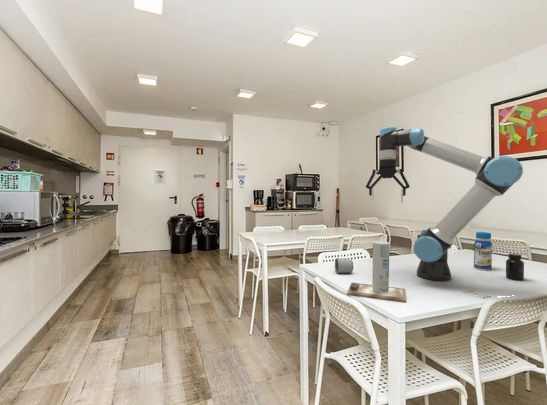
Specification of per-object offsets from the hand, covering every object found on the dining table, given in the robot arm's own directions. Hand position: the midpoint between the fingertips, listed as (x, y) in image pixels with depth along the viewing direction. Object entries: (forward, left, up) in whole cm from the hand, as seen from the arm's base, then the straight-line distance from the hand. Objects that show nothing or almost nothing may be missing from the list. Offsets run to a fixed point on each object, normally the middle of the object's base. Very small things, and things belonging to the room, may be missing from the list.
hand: (386, 202), depth 146 cm
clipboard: (+3, +28, -37) cm, 46 cm away
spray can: (+2, +28, -36) cm, 45 cm away
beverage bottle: (-49, -36, -37) cm, 71 cm away
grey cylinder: (+21, +1, -37) cm, 43 cm away
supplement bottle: (-58, -19, -37) cm, 71 cm away
